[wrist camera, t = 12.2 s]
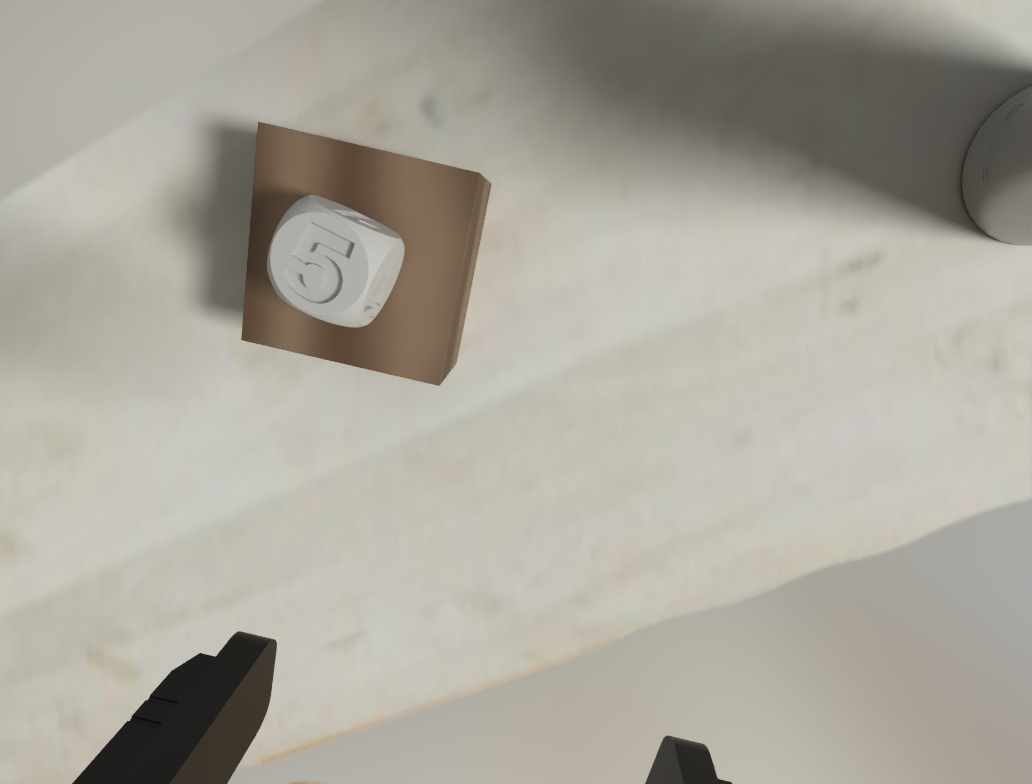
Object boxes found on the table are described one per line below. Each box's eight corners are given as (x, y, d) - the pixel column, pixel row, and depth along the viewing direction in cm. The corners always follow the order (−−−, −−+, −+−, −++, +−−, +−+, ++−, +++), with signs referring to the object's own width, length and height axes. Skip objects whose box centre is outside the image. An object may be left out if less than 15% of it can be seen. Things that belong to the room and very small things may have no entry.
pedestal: (491, 184, 34) (479, 173, 29) (456, 363, 38) (439, 385, 32) (307, 141, 34) (258, 121, 29) (288, 324, 38) (241, 340, 32)
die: (413, 239, 30) (387, 239, 25) (379, 320, 31) (348, 335, 26) (330, 197, 29) (287, 189, 25) (299, 281, 31) (253, 288, 26)
